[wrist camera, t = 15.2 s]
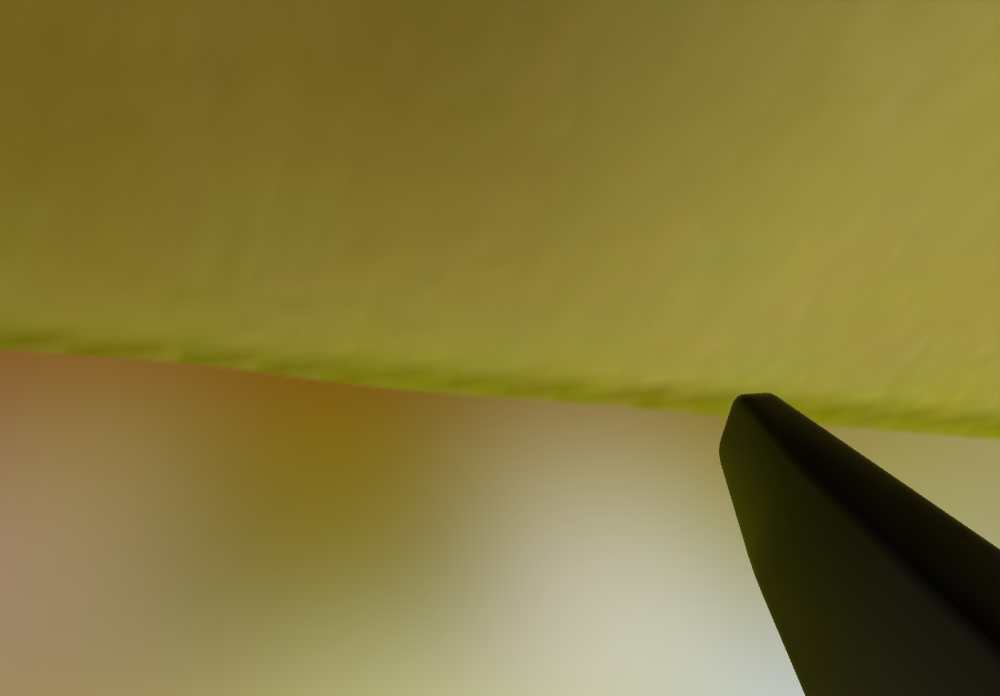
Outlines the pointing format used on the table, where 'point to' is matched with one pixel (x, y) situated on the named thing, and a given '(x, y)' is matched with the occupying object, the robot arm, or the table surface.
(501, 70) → the table surface
